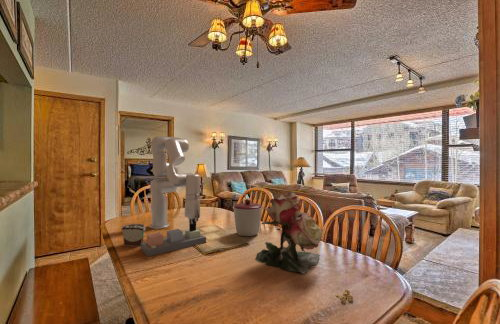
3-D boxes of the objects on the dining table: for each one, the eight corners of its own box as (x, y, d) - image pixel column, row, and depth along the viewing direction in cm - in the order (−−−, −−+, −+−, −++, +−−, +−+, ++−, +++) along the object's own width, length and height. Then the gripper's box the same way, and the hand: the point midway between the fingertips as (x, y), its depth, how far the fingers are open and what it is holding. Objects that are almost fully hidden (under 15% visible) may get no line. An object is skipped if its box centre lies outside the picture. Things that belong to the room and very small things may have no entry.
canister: (227, 236, 140) (227, 200, 140) (240, 228, 157) (240, 196, 157) (256, 240, 133) (256, 202, 133) (266, 231, 150) (266, 197, 150)
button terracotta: (146, 244, 119) (146, 234, 119) (159, 242, 123) (159, 232, 123) (150, 248, 114) (150, 237, 114) (163, 245, 118) (163, 235, 118)
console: (140, 248, 120) (140, 241, 120) (195, 236, 139) (195, 230, 139) (148, 256, 111) (148, 248, 111) (206, 242, 130) (206, 235, 130)
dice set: (348, 294, 81) (348, 289, 81) (356, 303, 76) (356, 297, 76) (334, 295, 81) (334, 290, 81) (341, 305, 76) (342, 298, 76)
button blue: (166, 240, 125) (166, 230, 125) (177, 238, 129) (178, 228, 129) (171, 243, 121) (171, 233, 121) (182, 241, 124) (182, 231, 124)
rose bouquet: (315, 279, 91) (316, 199, 90) (250, 261, 106) (250, 193, 106) (332, 256, 112) (332, 192, 112) (275, 244, 128) (276, 187, 128)
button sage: (185, 239, 132) (185, 230, 132) (195, 237, 135) (195, 228, 135) (189, 242, 127) (189, 232, 127) (200, 239, 131) (200, 230, 131)
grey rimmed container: (150, 242, 129) (150, 223, 129) (143, 246, 123) (143, 227, 123) (128, 241, 131) (128, 223, 131) (121, 245, 125) (121, 226, 124)
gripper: (180, 195, 134) (180, 228, 134) (192, 199, 123) (192, 235, 123) (193, 194, 139) (193, 226, 139) (205, 197, 127) (205, 232, 128)
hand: (192, 230), depth 131 cm, fingers closed
